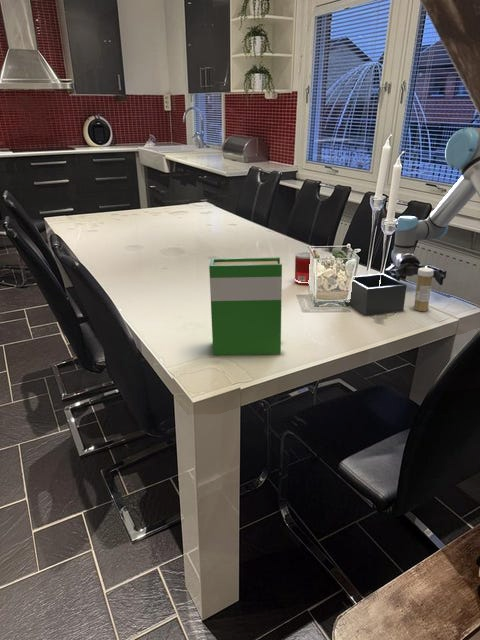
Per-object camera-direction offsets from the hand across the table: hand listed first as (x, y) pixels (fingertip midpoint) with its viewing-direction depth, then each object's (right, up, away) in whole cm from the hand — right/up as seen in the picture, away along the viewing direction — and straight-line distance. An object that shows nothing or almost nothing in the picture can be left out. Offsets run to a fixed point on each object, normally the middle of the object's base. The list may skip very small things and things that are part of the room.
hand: (420, 280), depth 153 cm
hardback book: (-57, -21, -28) cm, 67 cm away
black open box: (-15, -8, +1) cm, 17 cm away
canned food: (-34, +1, +27) cm, 44 cm away
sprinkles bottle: (-1, -10, -2) cm, 10 cm away
